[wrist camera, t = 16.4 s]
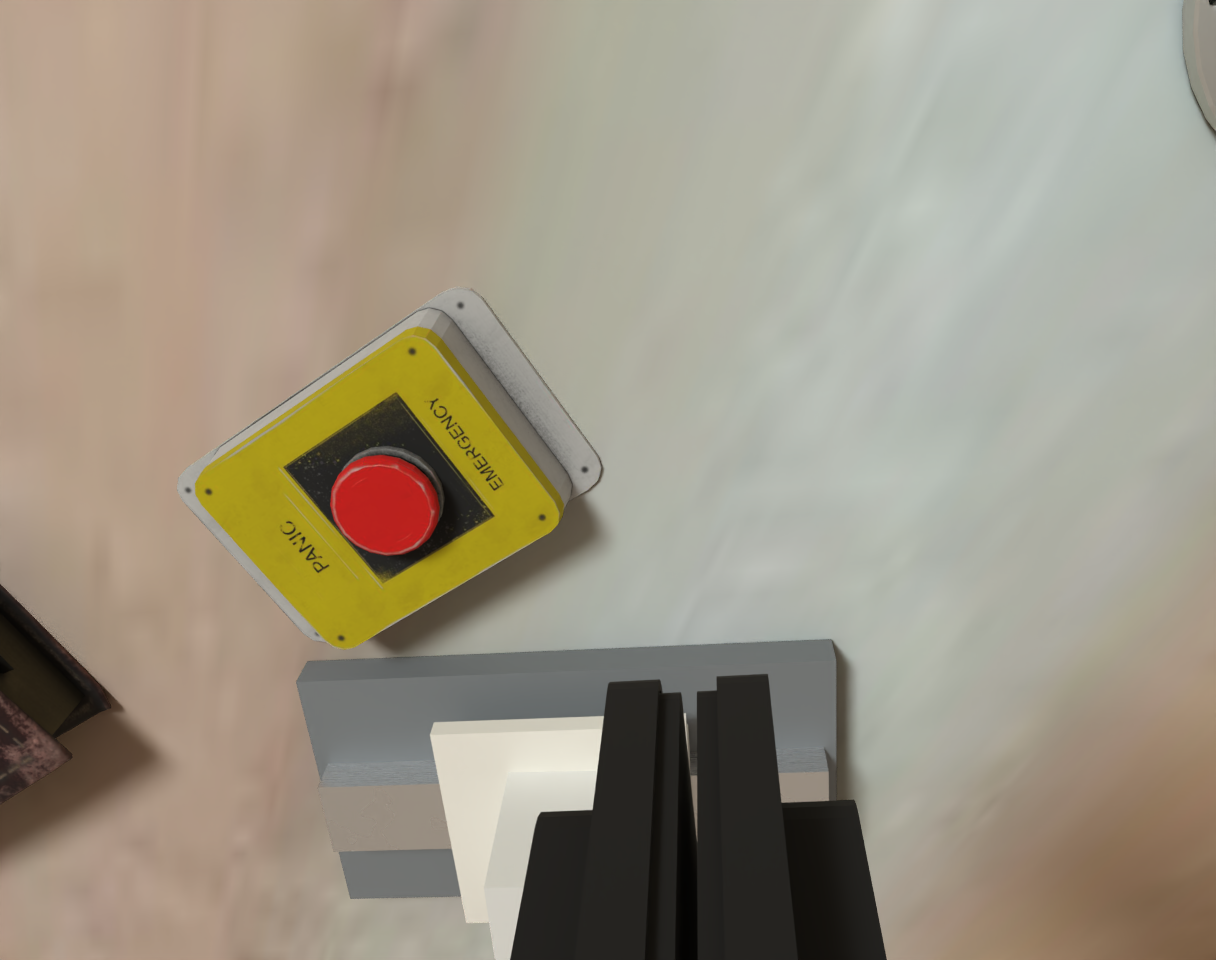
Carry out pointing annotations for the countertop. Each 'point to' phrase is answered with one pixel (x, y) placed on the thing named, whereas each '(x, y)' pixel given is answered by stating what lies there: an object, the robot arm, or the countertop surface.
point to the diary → (37, 698)
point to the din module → (525, 841)
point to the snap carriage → (500, 781)
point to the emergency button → (395, 473)
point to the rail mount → (519, 689)
